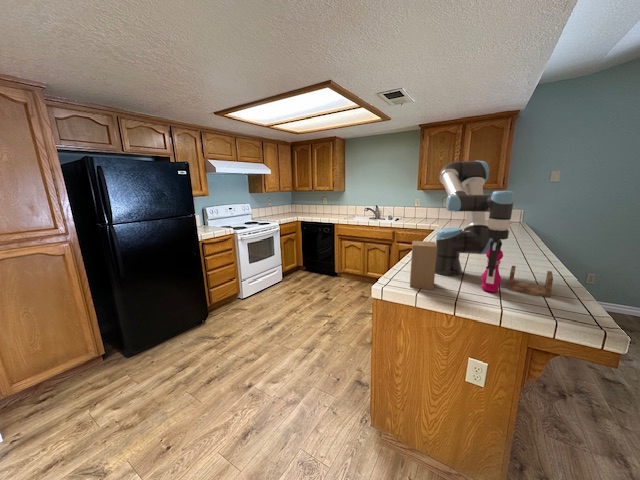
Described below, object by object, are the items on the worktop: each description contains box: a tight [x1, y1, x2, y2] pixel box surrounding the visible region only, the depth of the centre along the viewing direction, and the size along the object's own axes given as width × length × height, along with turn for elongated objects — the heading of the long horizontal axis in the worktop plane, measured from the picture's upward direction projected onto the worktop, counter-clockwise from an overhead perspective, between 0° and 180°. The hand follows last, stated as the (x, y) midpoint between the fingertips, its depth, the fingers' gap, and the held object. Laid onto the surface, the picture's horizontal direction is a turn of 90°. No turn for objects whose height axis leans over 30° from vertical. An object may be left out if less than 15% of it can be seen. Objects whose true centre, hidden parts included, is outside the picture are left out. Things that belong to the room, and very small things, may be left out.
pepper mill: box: [480, 249, 504, 293], centre depth 110 cm, size 7×7×20 cm
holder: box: [507, 265, 554, 298], centre depth 113 cm, size 14×11×8 cm
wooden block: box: [409, 240, 437, 291], centre depth 118 cm, size 10×10×20 cm
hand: (490, 280), depth 112 cm, fingers closed on pepper mill, 7 cm apart
